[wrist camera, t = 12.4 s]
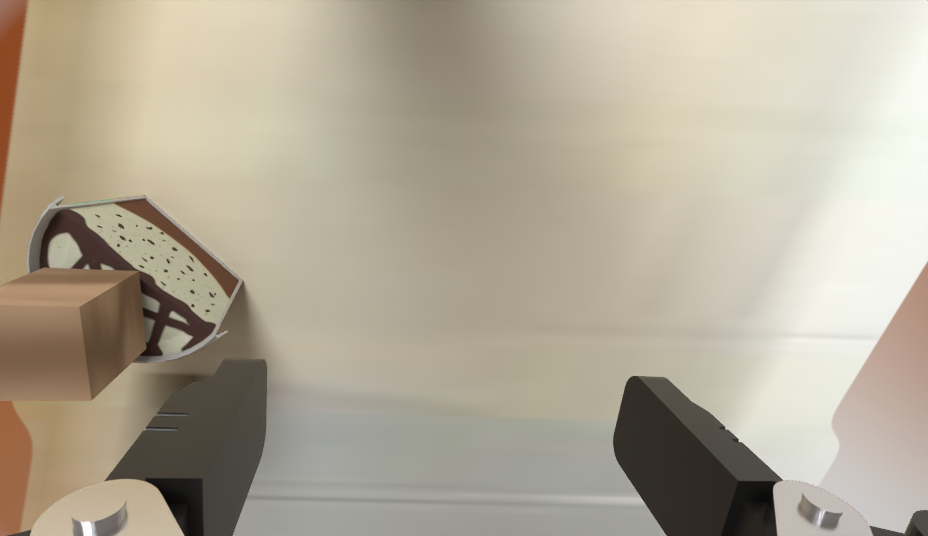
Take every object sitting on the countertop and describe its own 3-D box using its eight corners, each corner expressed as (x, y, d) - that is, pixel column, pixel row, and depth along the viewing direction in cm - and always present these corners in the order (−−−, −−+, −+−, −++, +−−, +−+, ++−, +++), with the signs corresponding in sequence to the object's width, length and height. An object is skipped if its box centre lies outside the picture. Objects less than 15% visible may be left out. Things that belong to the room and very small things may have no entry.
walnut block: (43, 267, 28) (-43, 303, 23) (139, 271, 29) (79, 306, 24) (55, 347, 30) (-23, 400, 24) (146, 348, 31) (91, 400, 25)
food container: (71, 235, 37) (-35, 274, 28) (128, 180, 37) (39, 200, 27) (205, 341, 41) (150, 407, 32) (257, 292, 41) (218, 344, 31)
